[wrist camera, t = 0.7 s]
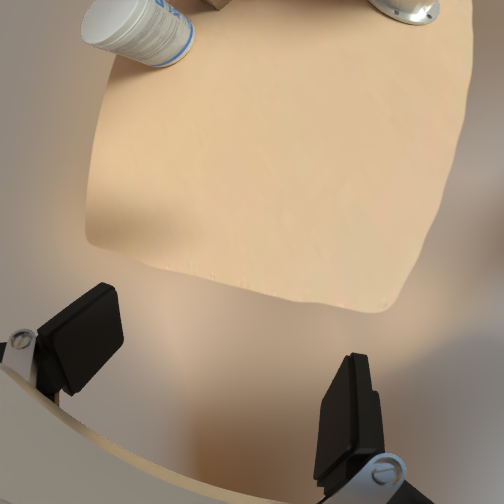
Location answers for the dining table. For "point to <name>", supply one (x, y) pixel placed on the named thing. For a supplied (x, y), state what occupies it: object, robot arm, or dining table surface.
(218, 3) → the walnut block
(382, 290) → the dining table surface
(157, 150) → the dining table surface
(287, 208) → the dining table surface
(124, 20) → the supplement tub
